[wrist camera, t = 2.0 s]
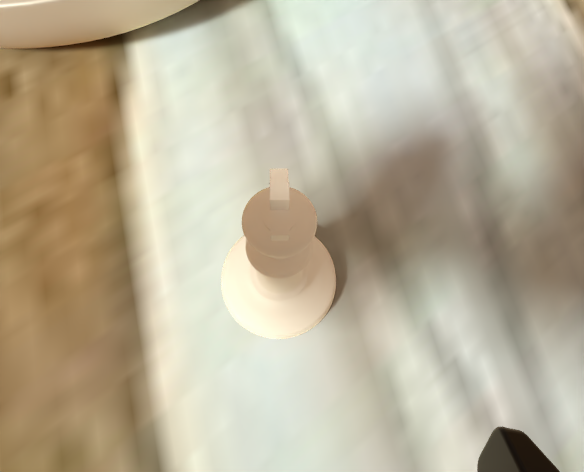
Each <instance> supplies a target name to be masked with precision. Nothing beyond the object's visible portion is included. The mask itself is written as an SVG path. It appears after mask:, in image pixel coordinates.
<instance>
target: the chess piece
mask: <svg viewBox="0 0 584 472" xmlns="http://www.w3.org/2000/svg"><path fill="white" fill-rule="evenodd" d="M242 228H243V232H244V236H242V237H241V238H240V239H239V240H238V241H237V242H236V243H235V244H234V246H233V247H232V248H231V250H230V251H229V253H228V255H227V257H226V260H225V262H224V266H223V270H222V277H221V288H222V294H223V298H224V301H225V304H226V306H227V308H228V310H229V312H230V313H231V315H232V316H233V317H234V319H235V320H236V321H237V322H238V323H239V324H240V325H241V326H243V327H244V328H245V329H247V330H248V331H250V332H252V333H254V334H256V335H259V336H262V337H265V338H271V339H286V338H292V337H295V336H298V335H301V334H303V333H305V332H307V331H309V330H310V329H312V328H313V327H314V326H316V325H317V324H318V323H319V322H320V321H321V320H322V319H323V318H324V316H325V315H326V314H327V312H328V310H329V309H330V307H331V304H332V302H333V299H334V295H335V290H336V275H335V268H334V264H333V261H332V258H331V256H330V254H329V252H328V251H327V249H326V248H325V246H324V245H323V244H322V243H321V242H320V240H319V239H317V238H316V237H315V236H314V235H315V233H316V229H317V215H316V211H315V209H314V207H313V205H312V203H311V202H310V200H309V199H308V198H307V197H306V196H305V195H304V194H302V193H301V192H299V191H298V190H296V189H293V188H290V187H289V182H288V169H270V187H269V188H266V189H263V190H261V191H260V192H258V193H257V194H255V195H254V196H253V197H252V198H251V199H250V200H249V202H248V203H247V205H246V207H245V209H244V212H243V216H242Z"/></svg>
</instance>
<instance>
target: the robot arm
mask: <svg viewBox="0 0 584 472" xmlns="http://www.w3.org/2000/svg"><path fill="white" fill-rule="evenodd" d="M477 470H478V472H560V471H559V470H558V469H557V468H556V467H555V466H554V465H553V463H552V462H551V461H550V460H549V459H548V458H547V457H546V456H545V455H544V454H543V452H542V451H541V450H540V449H539V448H538V447H537V446H536V445H535V444H534V442H533V441H532V440H531V439H530V438H529V437H528V436H527V435H526V434H525V433H524V432H522V431H520V430H515V429H510V428H505V427H497V428H496V429H494V431H493V432H492V434H491V436H490V438H489V440H488V442H487V443H486V445H485V447H484V449H483V451H482V453H481V455H480V457H479V460H478V469H477Z"/></svg>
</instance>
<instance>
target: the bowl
mask: <svg viewBox="0 0 584 472" xmlns="http://www.w3.org/2000/svg"><path fill="white" fill-rule="evenodd" d="M198 1H199V0H0V48H42V47H53V46H63V45H70V44H76V43H83V42H89V41H93V40H98V39H103V38H107V37H111V36H115V35H118V34H122V33H126V32H129V31H132V30H135V29H138V28H141V27H144V26H146V25H149V24H152V23H154V22H157V21H159V20H162V19H164V18H166V17H168V16H170V15H173V14H175V13H177V12H179V11H181V10H183V9H185V8H187V7H189V6H190V5H192V4H194V3H196V2H198Z"/></svg>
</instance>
